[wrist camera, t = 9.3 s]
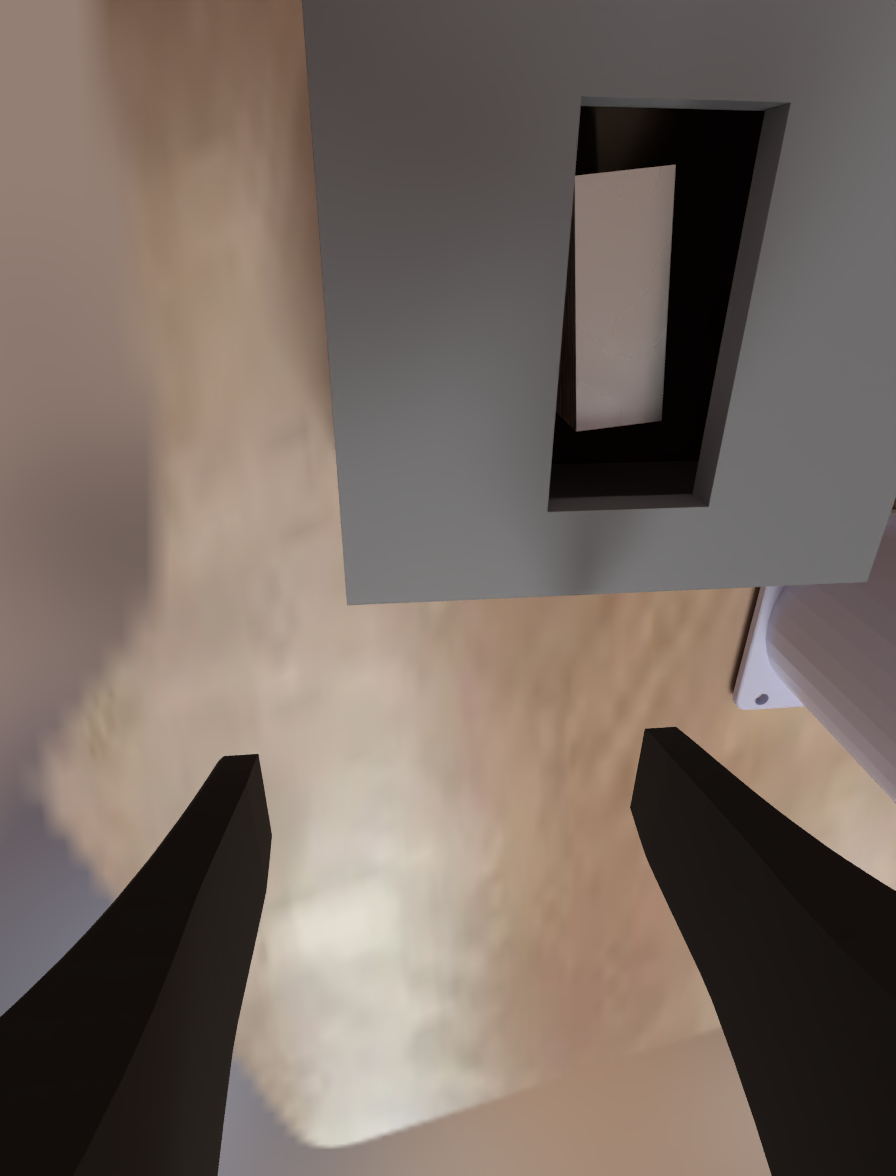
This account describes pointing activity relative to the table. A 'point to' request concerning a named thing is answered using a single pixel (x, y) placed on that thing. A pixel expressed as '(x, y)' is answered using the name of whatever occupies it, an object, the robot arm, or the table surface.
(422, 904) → the table surface
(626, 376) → the block
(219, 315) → the table surface
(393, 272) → the coin box
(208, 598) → the table surface
